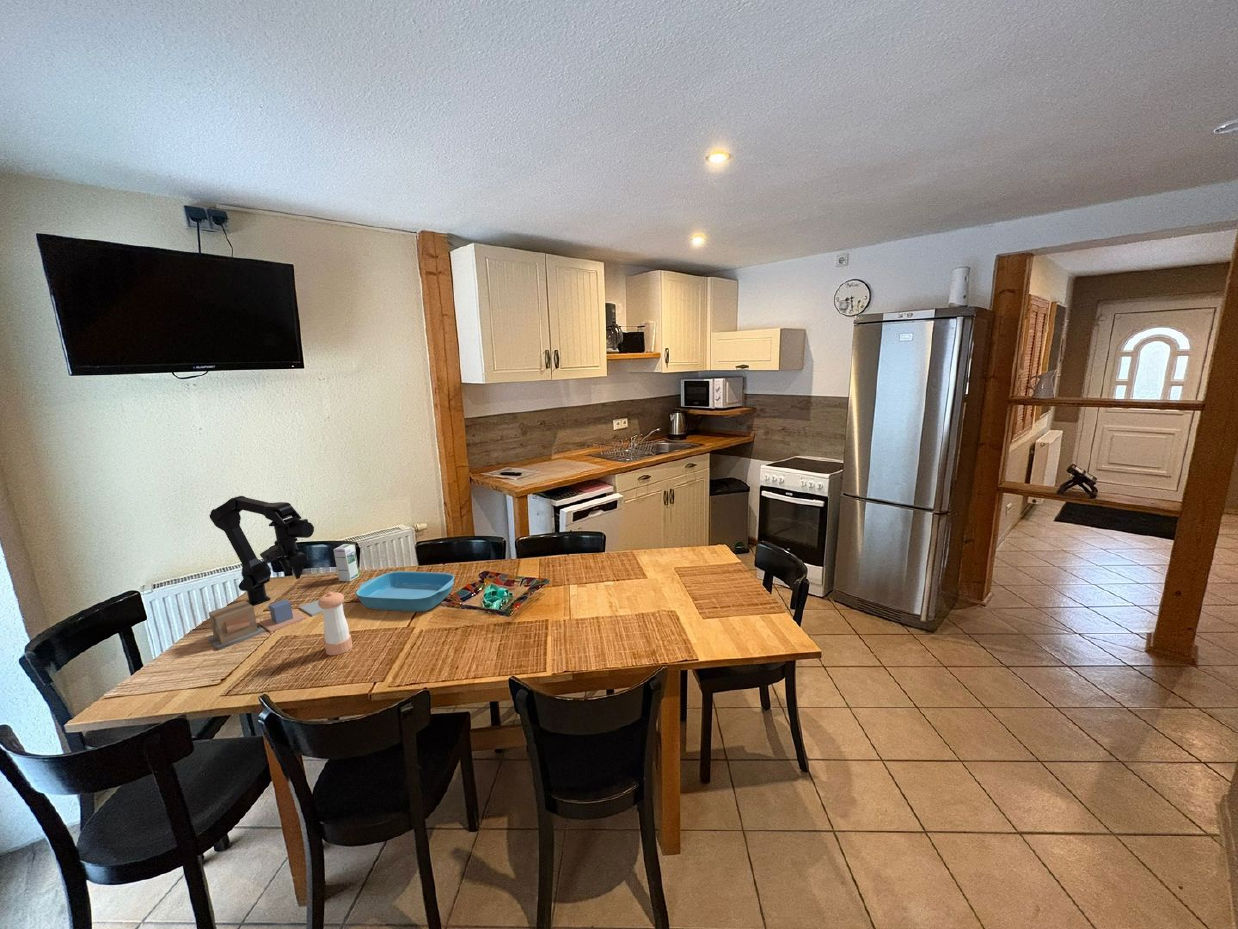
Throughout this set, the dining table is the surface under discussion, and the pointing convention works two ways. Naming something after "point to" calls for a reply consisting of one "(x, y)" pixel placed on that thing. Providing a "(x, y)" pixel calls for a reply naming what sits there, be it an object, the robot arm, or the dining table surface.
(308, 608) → the grey mat
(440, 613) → the dining table surface
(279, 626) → the terracotta mat
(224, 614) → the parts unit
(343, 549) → the syrup box
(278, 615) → the block
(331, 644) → the salt shaker
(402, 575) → the casserole dish
